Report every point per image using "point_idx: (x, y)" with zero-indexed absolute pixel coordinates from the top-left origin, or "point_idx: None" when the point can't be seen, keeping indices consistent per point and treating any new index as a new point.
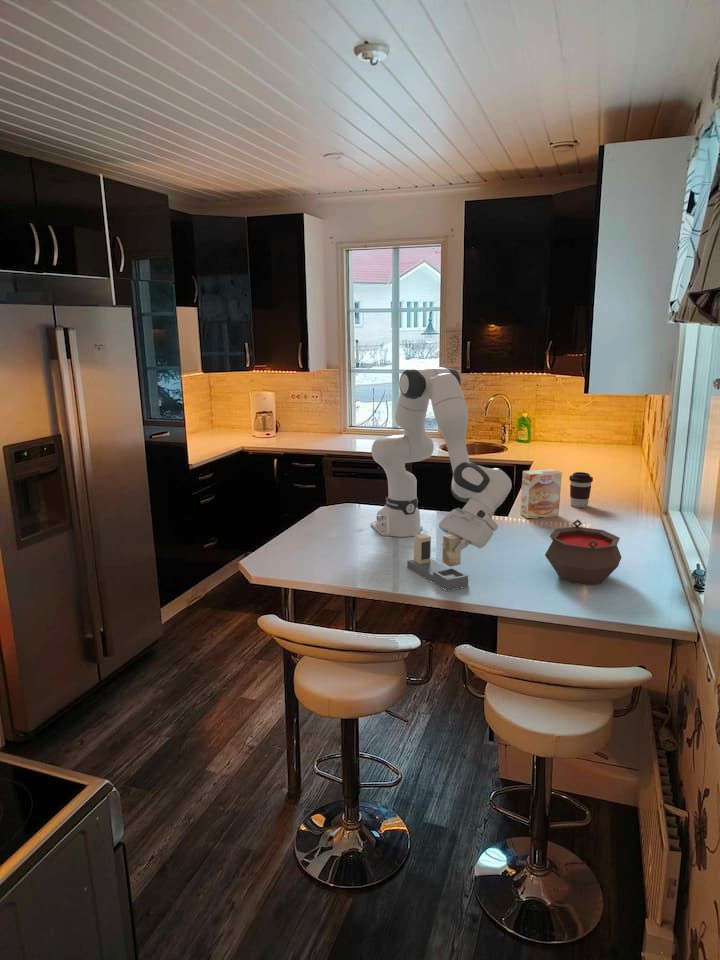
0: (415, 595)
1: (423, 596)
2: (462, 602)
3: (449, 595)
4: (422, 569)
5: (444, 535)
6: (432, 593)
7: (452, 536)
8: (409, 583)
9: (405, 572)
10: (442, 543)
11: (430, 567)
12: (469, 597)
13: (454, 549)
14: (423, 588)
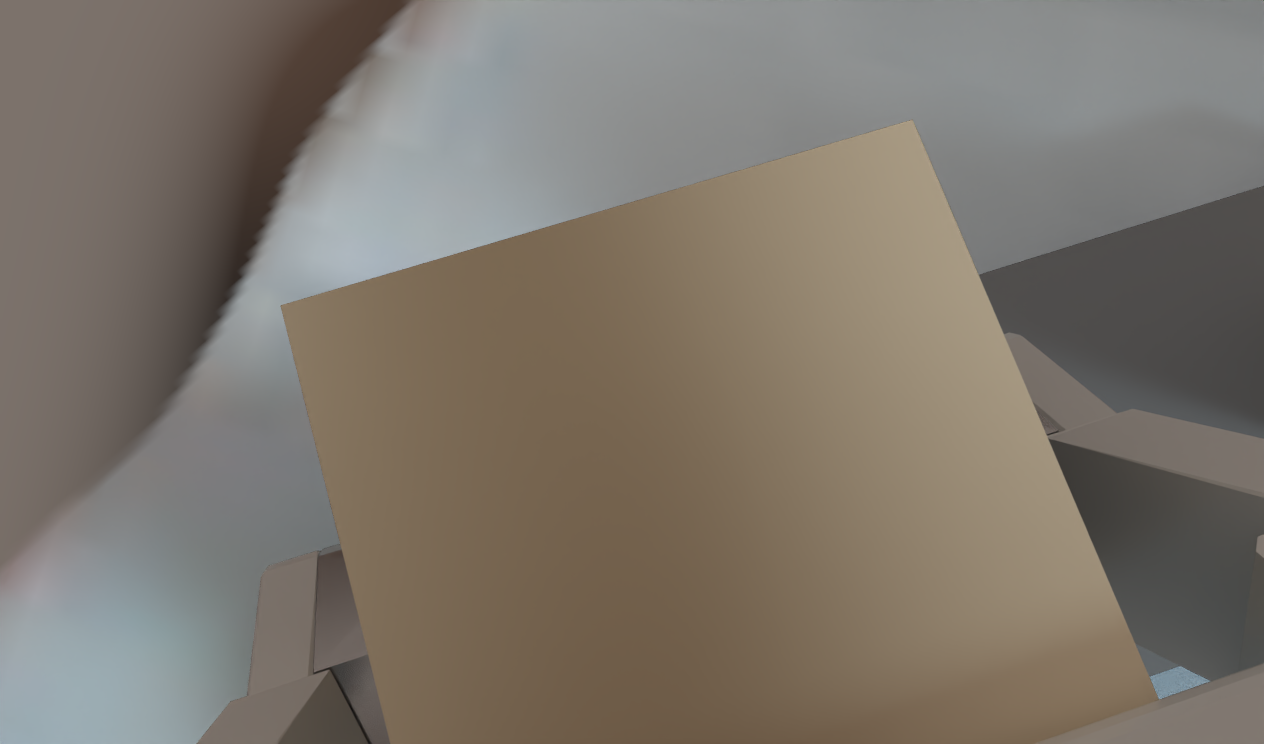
0: (405, 40)
1: (348, 125)
2: (4, 570)
3: (283, 466)
4: (1063, 248)
5: (903, 188)
6: (410, 260)
7: (656, 531)
8: (802, 65)
9: (1200, 108)
10: (1009, 338)
11: (1138, 397)
12: (130, 737)
13: (335, 550)
14: (601, 193)
